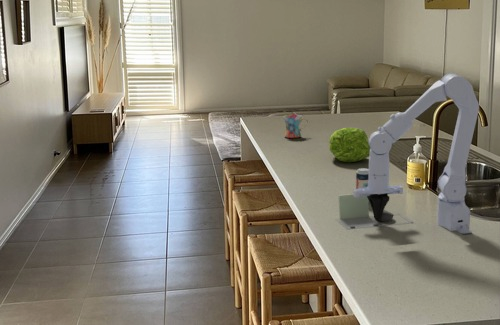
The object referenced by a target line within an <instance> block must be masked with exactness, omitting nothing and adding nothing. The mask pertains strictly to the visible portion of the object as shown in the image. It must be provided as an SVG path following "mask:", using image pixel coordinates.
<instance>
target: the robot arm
mask: <svg viewBox="0 0 500 325" xmlns="http://www.w3.org/2000/svg"><path fill="white" fill-rule="evenodd" d="M447 97H448V98H449V99H451V100H452V102H453V103H454V105H455V106H457V108H458V113H457V114H458V115H457V120H456V122H455V123H456V124H455V127H454V128H455V129H454V131H453V132H454V133H453V137H452V140H451V141H452V142H451V146H450V150H449V153H448V154H449V155H448V159H447V163H446V165H445V166H444V168H443V172H442V174H441V175H440V176H439V178H438V181H437V187H438V189H439V190H440V193H439V194H438V197H437V213H436V224H437V226H440V227H442V228H445V229H446V230H448V231H449V232H453V231H455V232H456V231H457V232H458V233H460V234H461V235H463V234H465V235H466V234H472V233H473V231H472V230H471V229H470V225H471V224H470V221H471V210H470V208H469V207H468V206H467V205H466V202H465V196H466V195H467V186H466V178H467V174H466V167H467V163H468V158H469V155H470V154H469V153H470V150H471V145H472V140H473V135H474V131H475V129H476V124H477V119H478V115H479V110H480V105H479V104H480V103H479V102H478V99H477V97H476V94H475V92H474V87H473V85H472V84H471V83H470V82H469V80H467V79H466V78H465V77H463V76H460V75H459V74H457V73H454V72H450V73H449V72H448V73H446V74H445V75H444V76H442V77H441V78H440V79H438V80H437V81H435V82H434V83H433V84H432V85H431V86H430V87H429V88H428V89H427V90H426V91H425V92H424V93H422V95H421V96H420V97H419V98H417V99H416V101H415V102H414V103H413V104H411V106H409V107H408V108H407V109H406V110H405V111H404V112H403V111H402V112H397V113H392V114H391V115H390V116H389V118H390V119H388V121H386V122H385V123H384V124H383V125H382V126H378V128H377V130H376V131H374V132H372V133H371V134H370V136H369V138H368V144H369V146H370V148H371V149H370V152H369V155H370V156H369V157H368V169H369V178H368V187H365V188H360V189H356V188H355V189H353V192H352V194H353V196H354V197H356V198H358V197H361V196H367V198H368V200H369V204H370V206H371V210H372V214H373V215H372V216H374V217H373V219H375V220H376V221H380V220H381V217H382V213H383V210H385V208H386V206H387V204H388V203H389V201H390V196H389V195H396V194H399V195H402V194H404V187H403V186H402V185H389V184H390V182H389V180H390V179H389V178H390V156H389V155H390V151H391V148H392V147H393V146H392V145H393V144H394V143H396V142H397V141H398V140H400V139H401V138H402V137H403V136H404V135H405V134H406V133H408V131H409V130H410V129H412V127H413V121H414V120H416V119H417V118H418V117H419V116H420V115H422V114H423V113H424V112H425V111H426V110H427V109H429V108H430V107H432V105H433V104H435V103H440V102H447V101H448V99H447Z"/></svg>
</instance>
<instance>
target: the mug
mask: <svg viewBox="0 0 500 325" xmlns="http://www.w3.org/2000/svg"><path fill="white" fill-rule="evenodd" d="M283 119H284V122H285V133H284V137H285V138H288V139H297V138H300V137H301V136H302V134H301V132H302V129H304V128H305V127H306V126H307V124H308V119H307V118H303V116H302V114H301V115H300V114H285V115H283ZM303 120H306V122H305V125H304V126H302V127H301V128H300V125H301V123H302V121H303Z"/></svg>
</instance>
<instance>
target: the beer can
mask: <svg viewBox="0 0 500 325" xmlns="http://www.w3.org/2000/svg"><path fill="white" fill-rule="evenodd" d="M368 178H369V168H367V167H359V168H357V170H356V171H355V189H360V188H365V187H368ZM368 204H370V202H369V200H368Z"/></svg>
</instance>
